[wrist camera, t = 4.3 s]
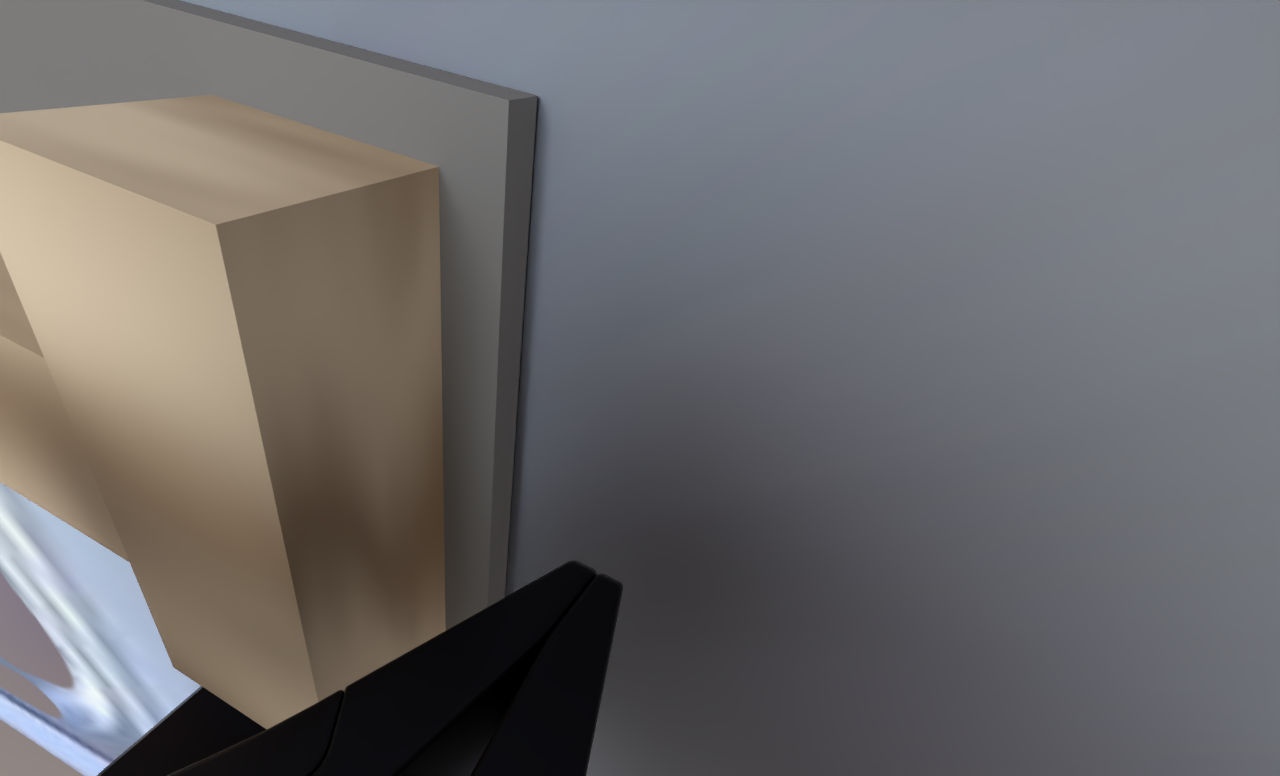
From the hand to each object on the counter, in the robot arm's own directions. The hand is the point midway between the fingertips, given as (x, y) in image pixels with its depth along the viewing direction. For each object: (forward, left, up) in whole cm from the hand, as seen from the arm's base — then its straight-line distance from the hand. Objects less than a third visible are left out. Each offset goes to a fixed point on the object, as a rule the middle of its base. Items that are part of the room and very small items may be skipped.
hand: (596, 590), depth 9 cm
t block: (0, +9, -1) cm, 9 cm away
